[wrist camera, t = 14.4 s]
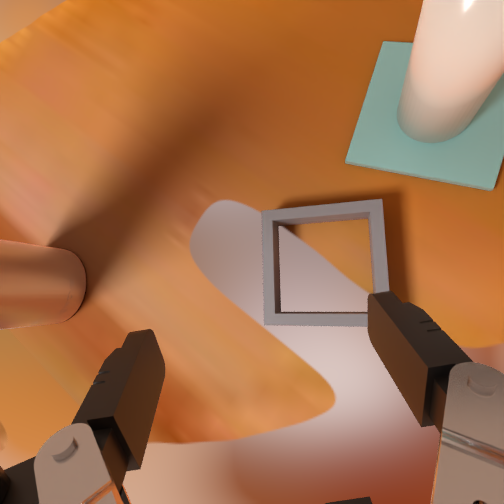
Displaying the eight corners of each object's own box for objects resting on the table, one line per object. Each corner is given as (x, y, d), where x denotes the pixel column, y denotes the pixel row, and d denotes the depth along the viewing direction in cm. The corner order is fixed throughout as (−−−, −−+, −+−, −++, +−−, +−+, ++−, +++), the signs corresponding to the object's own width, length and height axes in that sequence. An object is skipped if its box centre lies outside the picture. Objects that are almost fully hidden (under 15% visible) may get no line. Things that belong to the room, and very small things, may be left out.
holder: (388, 323, 26) (392, 326, 24) (271, 322, 29) (264, 325, 27) (379, 206, 28) (382, 198, 25) (268, 217, 31) (261, 210, 28)
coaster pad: (345, 163, 29) (345, 160, 29) (382, 46, 29) (383, 41, 29) (490, 191, 25) (493, 188, 25) (531, 55, 26) (535, 50, 25)
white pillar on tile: (478, 137, 25) (615, -37, 12) (398, 147, 27) (443, 6, 14) (468, 49, 27) (583, -195, 13) (393, 64, 28) (429, -137, 15)
